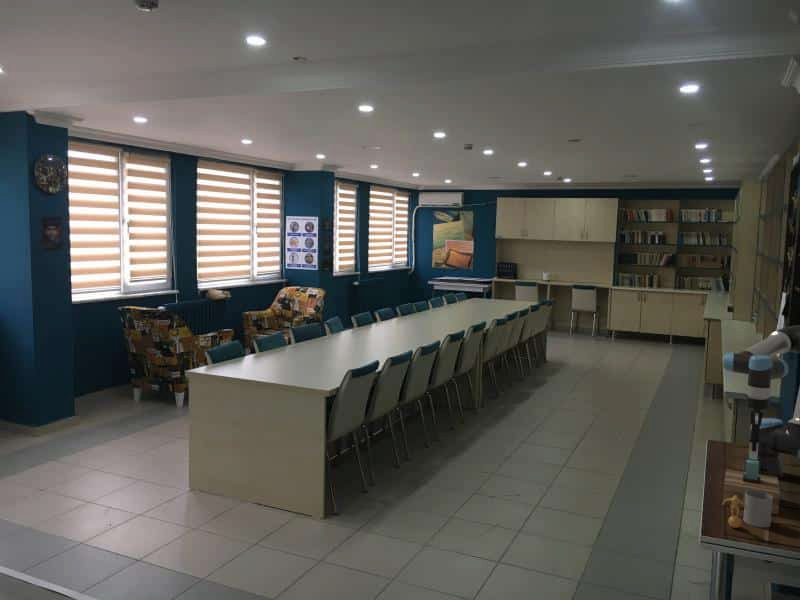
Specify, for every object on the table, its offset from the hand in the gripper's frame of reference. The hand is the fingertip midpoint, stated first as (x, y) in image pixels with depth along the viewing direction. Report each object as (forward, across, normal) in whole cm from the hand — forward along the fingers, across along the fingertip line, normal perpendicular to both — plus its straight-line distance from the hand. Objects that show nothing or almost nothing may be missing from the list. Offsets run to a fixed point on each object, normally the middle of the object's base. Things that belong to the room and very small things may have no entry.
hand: (753, 458), depth 252 cm
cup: (+17, +20, +2) cm, 26 cm away
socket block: (+17, 0, 0) cm, 17 cm away
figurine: (+17, +30, -5) cm, 35 cm away
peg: (+9, 0, 0) cm, 9 cm away
